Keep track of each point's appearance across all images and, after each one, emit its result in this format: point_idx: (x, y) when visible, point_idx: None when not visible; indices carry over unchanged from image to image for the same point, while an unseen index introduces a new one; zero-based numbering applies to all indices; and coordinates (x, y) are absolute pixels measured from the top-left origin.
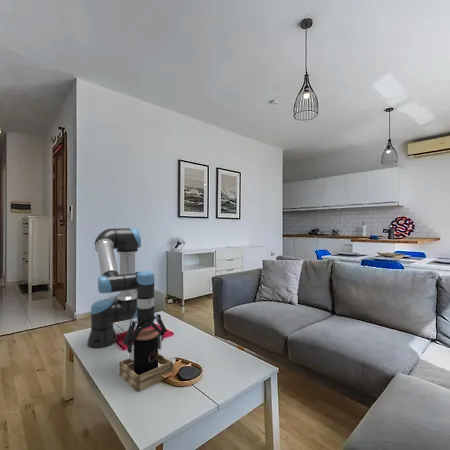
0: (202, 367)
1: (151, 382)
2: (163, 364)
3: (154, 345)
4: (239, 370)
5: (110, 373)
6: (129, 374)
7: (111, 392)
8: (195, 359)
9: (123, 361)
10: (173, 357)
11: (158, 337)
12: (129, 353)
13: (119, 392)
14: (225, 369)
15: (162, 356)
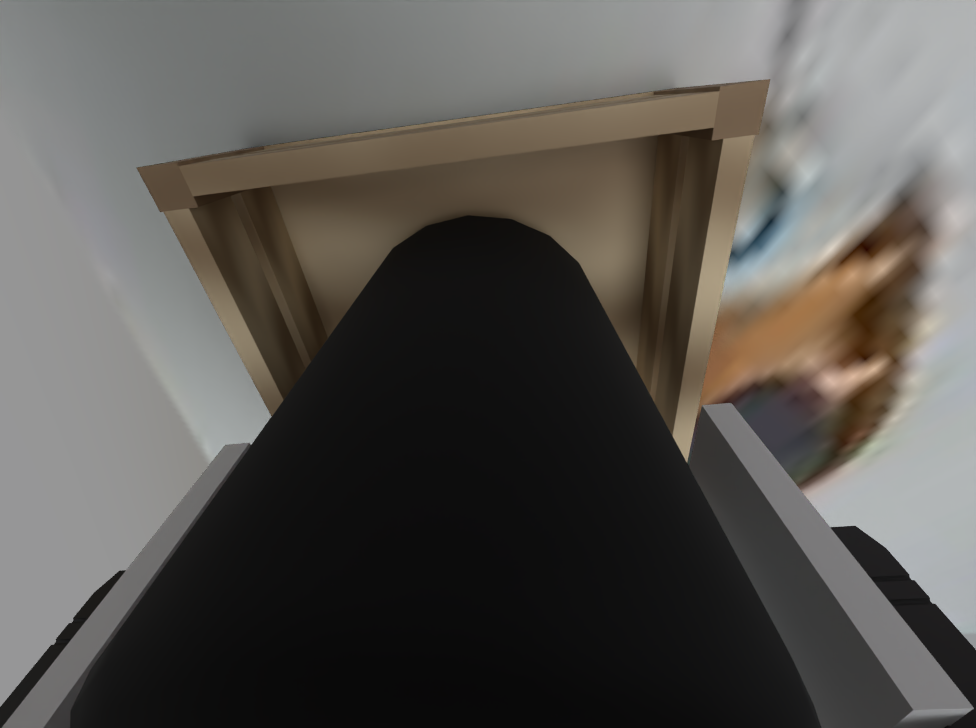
0: (856, 459)
1: None
2: (650, 369)
3: None
4: (931, 574)
5: (133, 21)
6: None
7: (194, 367)
8: (963, 344)
9: (203, 193)
10: (903, 159)
11: (825, 653)
12: (179, 508)
13: (251, 396)
14: (906, 538)
15: (691, 383)
